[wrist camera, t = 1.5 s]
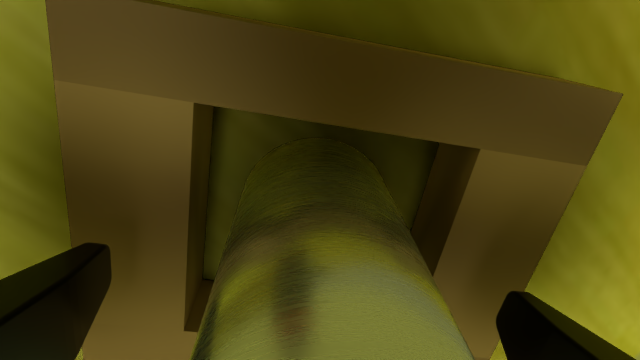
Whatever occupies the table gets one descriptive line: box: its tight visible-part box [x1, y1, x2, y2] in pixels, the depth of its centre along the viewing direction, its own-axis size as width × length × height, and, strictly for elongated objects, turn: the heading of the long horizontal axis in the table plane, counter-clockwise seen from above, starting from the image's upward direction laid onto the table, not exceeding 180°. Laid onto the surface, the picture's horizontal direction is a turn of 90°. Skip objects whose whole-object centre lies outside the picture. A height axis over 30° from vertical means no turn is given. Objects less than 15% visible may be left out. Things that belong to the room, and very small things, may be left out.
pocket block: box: [45, 0, 623, 360], centre depth 12 cm, size 18×12×2 cm, turn 170°
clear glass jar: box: [189, 138, 475, 360], centre depth 7 cm, size 4×4×9 cm
